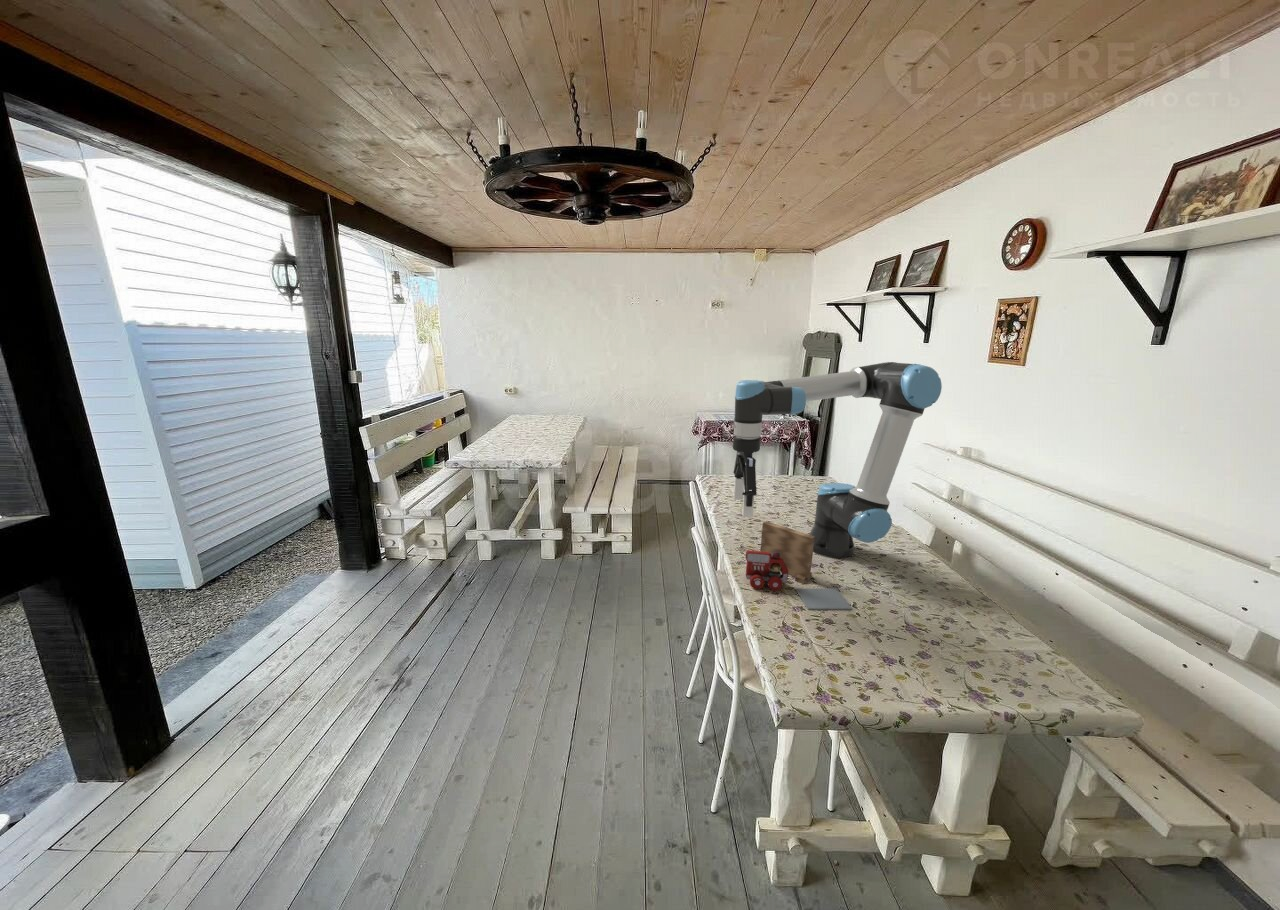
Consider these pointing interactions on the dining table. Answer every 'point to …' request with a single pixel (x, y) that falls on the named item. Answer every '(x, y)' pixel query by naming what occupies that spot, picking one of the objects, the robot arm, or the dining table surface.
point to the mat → (823, 599)
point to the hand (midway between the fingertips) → (742, 507)
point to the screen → (789, 549)
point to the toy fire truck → (765, 570)
